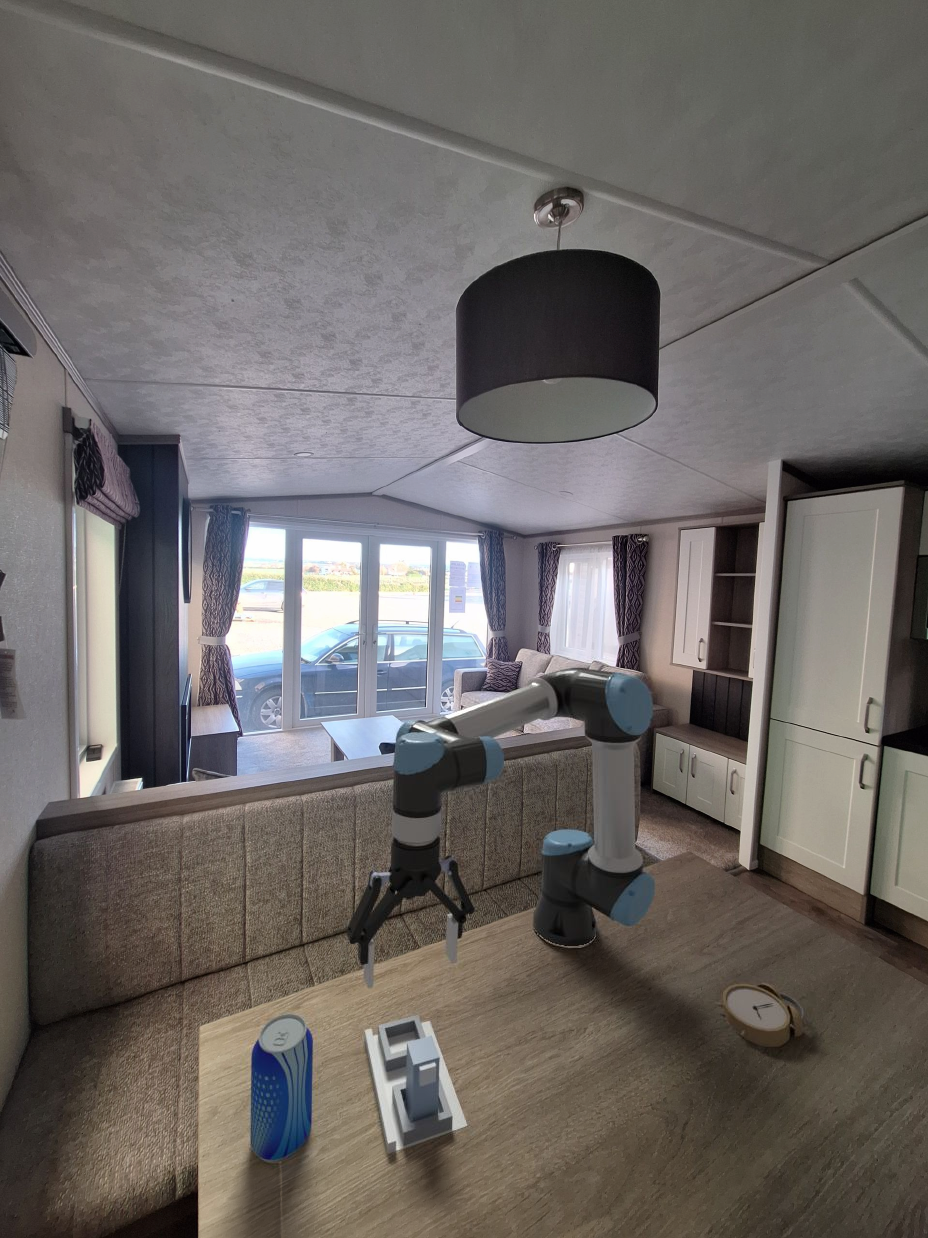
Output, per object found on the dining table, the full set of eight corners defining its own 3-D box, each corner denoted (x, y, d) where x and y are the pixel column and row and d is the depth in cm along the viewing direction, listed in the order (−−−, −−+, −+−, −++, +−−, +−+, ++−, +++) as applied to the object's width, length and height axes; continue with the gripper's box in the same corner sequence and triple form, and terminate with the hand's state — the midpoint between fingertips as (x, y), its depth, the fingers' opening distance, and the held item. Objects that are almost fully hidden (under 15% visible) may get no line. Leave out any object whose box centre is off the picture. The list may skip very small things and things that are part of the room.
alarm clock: (708, 989, 103) (774, 969, 105) (711, 1012, 103) (777, 992, 105) (748, 1037, 92) (821, 1013, 94) (751, 1062, 92) (824, 1038, 94)
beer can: (239, 1140, 74) (240, 1033, 74) (291, 1098, 81) (293, 999, 80) (269, 1184, 69) (270, 1069, 68) (322, 1135, 75) (324, 1030, 75)
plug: (430, 1097, 81) (431, 1035, 80) (439, 1127, 76) (441, 1062, 76) (405, 1105, 79) (406, 1042, 79) (413, 1136, 75) (415, 1070, 74)
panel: (429, 1026, 95) (429, 1010, 95) (467, 1132, 76) (467, 1113, 76) (364, 1043, 91) (364, 1027, 91) (387, 1160, 72) (388, 1140, 72)
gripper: (476, 814, 88) (472, 935, 89) (329, 838, 77) (325, 975, 78) (498, 832, 81) (492, 963, 82) (339, 861, 71) (335, 1011, 71)
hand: (411, 969), depth 80 cm, fingers open, 13 cm apart
